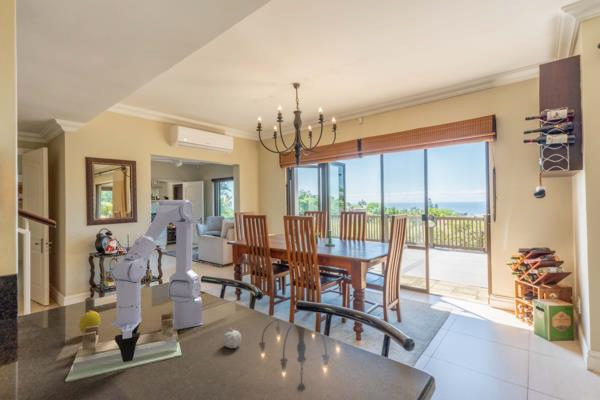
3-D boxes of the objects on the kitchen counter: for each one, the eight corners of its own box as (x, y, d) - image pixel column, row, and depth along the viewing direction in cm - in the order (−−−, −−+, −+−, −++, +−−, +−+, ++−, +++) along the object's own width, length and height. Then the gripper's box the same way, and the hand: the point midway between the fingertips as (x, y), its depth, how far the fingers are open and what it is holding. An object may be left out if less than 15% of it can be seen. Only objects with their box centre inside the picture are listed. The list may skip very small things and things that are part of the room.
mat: (178, 343, 90) (178, 342, 90) (181, 355, 83) (181, 354, 83) (72, 365, 78) (72, 364, 78) (65, 382, 71) (65, 380, 71)
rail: (176, 346, 87) (176, 337, 87) (176, 350, 84) (176, 341, 84) (75, 368, 76) (75, 358, 76) (73, 373, 73) (73, 363, 73)
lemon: (89, 340, 92) (89, 314, 92) (74, 338, 93) (74, 313, 93) (104, 332, 97) (104, 307, 97) (90, 330, 98) (90, 306, 98)
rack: (176, 331, 98) (176, 312, 98) (178, 339, 92) (178, 318, 92) (79, 349, 86) (79, 328, 86) (75, 359, 80) (75, 336, 80)
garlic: (221, 343, 90) (221, 326, 90) (239, 340, 92) (239, 323, 92) (223, 352, 84) (223, 334, 84) (242, 349, 86) (242, 331, 86)
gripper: (114, 298, 85) (114, 345, 85) (108, 316, 72) (108, 371, 72) (142, 294, 88) (142, 340, 88) (140, 311, 75) (141, 364, 75)
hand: (128, 353), depth 80 cm, fingers open, 7 cm apart
